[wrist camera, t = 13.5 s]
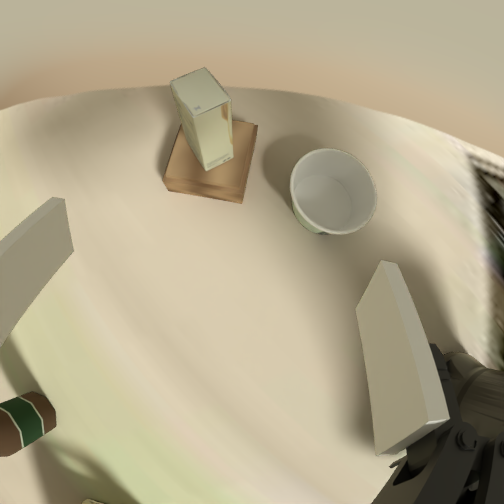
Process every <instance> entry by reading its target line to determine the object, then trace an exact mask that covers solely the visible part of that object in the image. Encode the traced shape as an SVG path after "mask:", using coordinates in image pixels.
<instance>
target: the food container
mask: <svg viewBox="0 0 504 504" xmlns="http://www.w3.org/2000/svg"><path fill="white" fill-rule="evenodd" d="M290 192H291V197H292V208H293V211H294V214H295V216H296V218H297V219H298V221H299V222H300V223H301V224H302V225H303V226H304V227H305V228H306V229H308V230H310V231H312V232H314V233H318V234H339V235H340V234H349V233H353V232H355V231H357V230H359V229H361V228H362V227H363V226H365V225H366V224H367V223H368V222H369V220H370V219H371V217H372V216H373V214H374V211H375V208H376V203H377V192H376V187H375V183H374V181H373V178H372V176H371V174H370V173H369V171H368V170H367V168H366V167H365V166H364V165H363V164H362V163H361V162H360V161H359V160H358V159H357V158H355V157H354V156H352V155H351V154H349V153H347V152H344V151H342V150H338V149H333V148H321V149H316V150H313V151H311V152H309V153H307V154H305V155H304V156H303V157H301V158H300V159H299V160H298V162H297V163H296V165H295V166H294V168H293V170H292V173H291V177H290Z"/></svg>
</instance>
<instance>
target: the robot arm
mask: <svg viewBox="0 0 504 504" xmlns="http://www.w3.org/2000/svg"><path fill="white" fill-rule="evenodd" d="M73 252H74V249H73V244H72V239H71V234H70V229H69V223H68V217H67V211H66V205H65V199H62V198H56V197H52V198H50V199H49V200H48V201H47V202H45V203H44V204H43V205H42V206H40V207H39V208H38V209H37V210H35V211H34V212H33V213H32V214H31V215H29V216H28V217H27V218H26V219H25V220H23V221H22V222H21V223H20V224H19V225H18V226H17V227H15V228H14V229H13V230H12V231H11V232H10V233H9V234H8V235H7V236H5V237H4V238H3V239H2V240H1V241H0V348H1V346H2V345H3V343H4V341H5V340H6V338H7V337H8V335H9V334H10V332H11V331H12V330H13V328H14V327H15V325H16V324H17V322H18V321H19V320H20V318H21V317H22V315H23V314H24V313H25V311H26V310H27V308H28V307H29V306H30V304H31V303H32V302H33V300H34V299H35V298H36V297H37V295H38V294H39V293H40V291H41V290H42V289H43V288H44V286H45V285H46V284H47V283H48V281H49V280H50V279H51V278H52V276H53V275H54V274H55V273H56V272H57V270H58V269H59V268H60V267H61V266H62V264H63V263H64V262H65V261H66V260H67V259H68V257H69V256H70V255H71V254H72V253H73ZM355 311H356V316H357V321H358V327H359V332H360V337H361V343H362V349H363V355H364V361H365V367H366V374H367V381H368V388H369V395H370V403H371V412H372V421H373V430H374V441H375V453H376V456H383V455H394V454H397V453H399V452H400V451H402V450H404V449H405V448H406V451H407V455H406V456H404V457H403V458H401V459H399V460H397V461H395V462H393V463H392V464H391V465H390V466H389V467H390V468H393V467H395V466H397V465H398V467H397V468H396V470H394V473H393V474H392V476H391V477H390V479H389V480H388V482H387V483H386V484H385V486H384V487H383V489H382V490H381V491H380V493H379V494H378V495H377V497H376V498H375V499H374V501H373V502H372V503H371V504H504V372H503V371H498V370H494V369H488V368H486V367H485V366H484V365H482V364H481V363H480V362H479V361H477V360H476V359H475V358H474V357H472V356H471V355H469V354H466V353H460V352H450V353H447V354H445V355H442V353H441V352H440V350H439V349H438V347H437V346H436V345H435V344H429V343H428V340H427V337H426V335H425V332H424V329H423V326H422V323H421V321H420V318H419V315H418V313H417V310H416V307H415V305H414V302H413V300H412V297H411V295H410V292H409V290H408V287H407V285H406V283H405V280H404V278H403V276H402V273H401V271H400V269H399V267H398V264H397V263H393V262H388V261H384V260H381V261H380V263H379V265H378V267H377V269H376V271H375V273H374V275H373V277H372V279H371V281H370V283H369V285H368V286H367V288H366V290H365V292H364V294H363V296H362V298H361V300H360V302H359V303H358V305H357V307H356V309H355Z"/></svg>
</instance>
